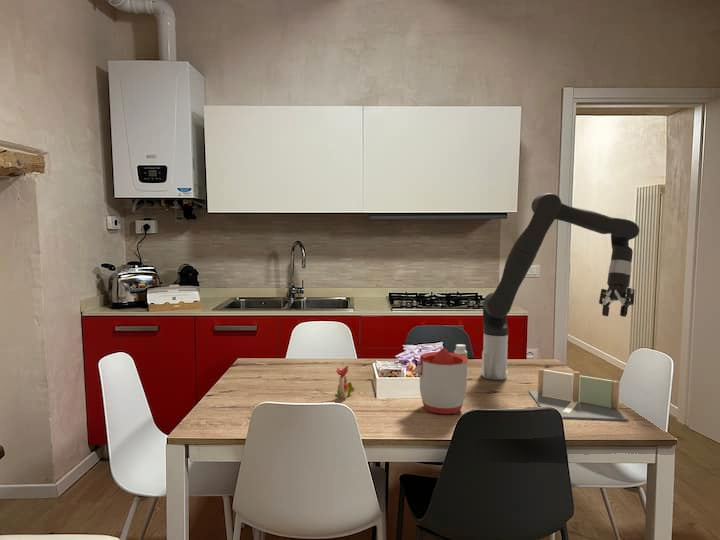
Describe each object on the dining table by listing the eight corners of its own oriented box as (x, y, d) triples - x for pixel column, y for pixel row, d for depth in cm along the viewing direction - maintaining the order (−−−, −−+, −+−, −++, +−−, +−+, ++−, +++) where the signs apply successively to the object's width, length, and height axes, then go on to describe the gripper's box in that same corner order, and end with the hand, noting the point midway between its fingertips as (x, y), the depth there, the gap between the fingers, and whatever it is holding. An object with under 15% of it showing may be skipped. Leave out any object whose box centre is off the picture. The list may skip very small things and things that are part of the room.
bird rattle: (353, 405, 177) (355, 387, 185) (351, 380, 172) (354, 363, 180) (335, 405, 178) (337, 387, 186) (333, 380, 173) (336, 362, 180)
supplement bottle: (467, 366, 220) (468, 344, 219) (466, 370, 214) (466, 347, 214) (454, 365, 221) (455, 343, 220) (452, 368, 216) (453, 346, 215)
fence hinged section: (578, 402, 174) (580, 376, 173) (580, 400, 175) (581, 375, 175) (617, 409, 167) (618, 382, 166) (618, 407, 169) (619, 381, 168)
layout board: (548, 418, 162) (548, 415, 161) (528, 392, 186) (528, 390, 186) (628, 421, 160) (628, 418, 160) (598, 394, 184) (598, 392, 184)
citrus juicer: (411, 400, 177) (412, 342, 175) (462, 401, 177) (464, 343, 175) (414, 417, 162) (415, 353, 160) (470, 418, 161) (472, 354, 159)
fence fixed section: (579, 401, 176) (580, 372, 175) (577, 402, 174) (579, 373, 173) (538, 393, 183) (539, 365, 182) (536, 395, 182) (538, 366, 181)
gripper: (597, 272, 201) (591, 314, 199) (626, 270, 188) (621, 314, 186) (612, 277, 203) (607, 317, 201) (642, 274, 190) (637, 318, 188)
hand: (613, 316), depth 193 cm, fingers open, 8 cm apart
